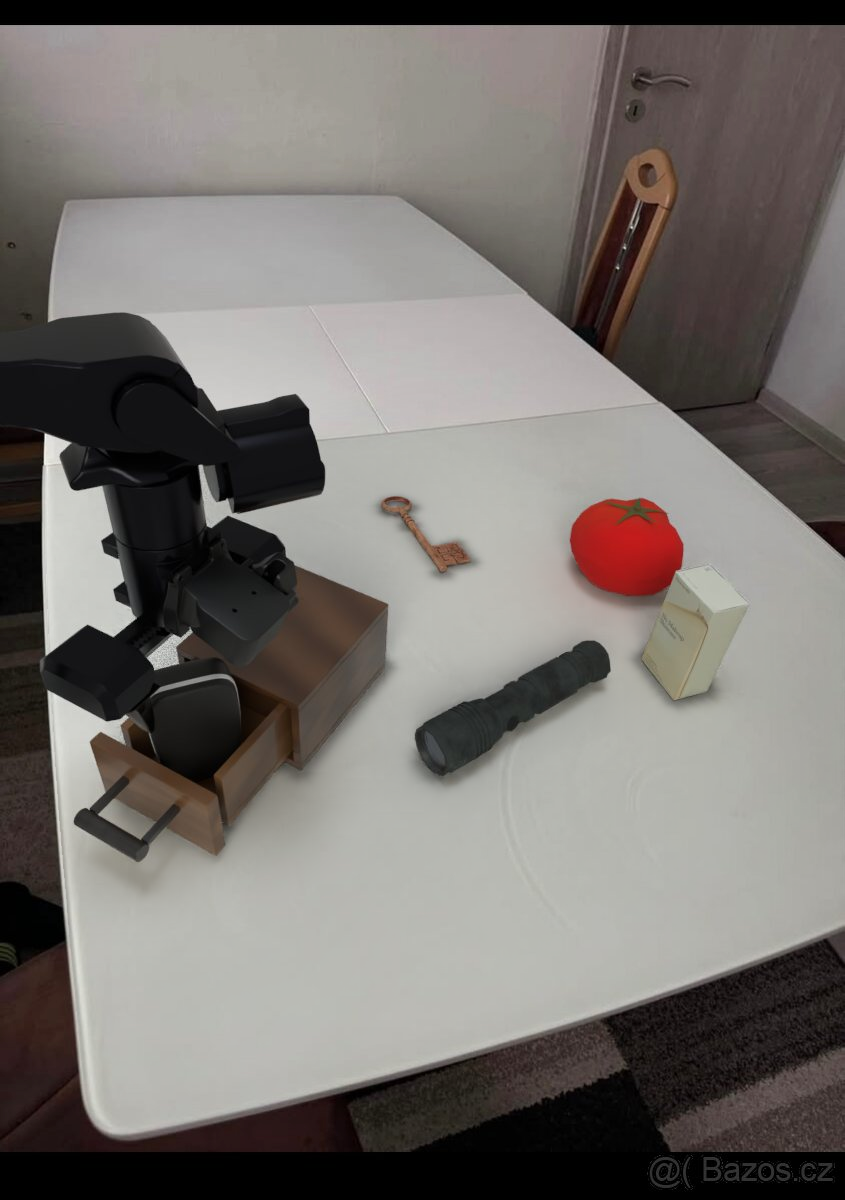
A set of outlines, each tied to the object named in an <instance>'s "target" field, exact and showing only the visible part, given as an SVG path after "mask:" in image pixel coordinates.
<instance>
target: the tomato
mask: <svg viewBox="0 0 845 1200" xmlns="http://www.w3.org/2000/svg"><path fill="white" fill-rule="evenodd" d="M668 514H669V512H667V511H665V510H664V509H663V508H661V507H660V506H659V505H657V504H656V503H655V502H653V500H652V501H651V500H649V499H647V498H644V497H639V498H634V499H633V498H632V499H628V500H625V499H624V500H623V499H619V498H607V499H604V500H602V501H599V502H596V503H594V504H591V505H590V506H589V507H587V508H586V509H584V510H583V511H582V512H581V513H580V514H579V515H578V517H577V518H576V519H575V521H574V522H573V524H572V526H571V530H570V536H569V544H570V550H571V553H572V554H571V555H572V556H573V558H574V560H575V562H576V565H577V567H578V568H579V570H580V571H581V572H582V573H583V575H584V576H585V578H586V579H587V580H588V581H589V582H590V583H591V584H593V585H594V586H595V587H597V588H599V589H601V590H604V591H605V592H609V593H614V594H619V595H623V596H629V597H630V596H631V597H634V596H635V597H646V596H647V597H648V596H654V595H656V594H659V593H660V592H662V591H664V590H666V589H667V588H669V587H670V585H671V582H672V580H673V577H674V575H675V572H676V571H677V570H682V568H683V561H684V550H685V547H684V542H683V540H682V539H681V537H680V535H679V532H678V531H677V528H676V527H674V525H672V523H671V522H670V519H669V516H668Z"/></svg>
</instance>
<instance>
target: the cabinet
mask: <svg viewBox="0 0 845 1200" xmlns="http://www.w3.org/2000/svg"><path fill="white" fill-rule="evenodd" d="M294 565H295V571H296V577H297V587H296V589H295V592H296V593H297V594H296V597H297V598H298V601H299V603H298V604H297V605H296V606H295V607H294V608H293V609H292V610H291V611H290V612H289V613H288V614H287V615H286V617H285V619H284V621H283V624H282V626H281V628H280V631H279V633H278V635H277V636H276V637H275V638H274V639H273V640H272V641H271V642H270V643H269V644H268V645H267V646H266V647H265V648H264V649H263V650H262V651H261V652H260V653H259V654H258V655H257V656H256V657H255V658H254V659H253V660H252V661H251V662H250V663H249V664H247V665H245V666H236V665H233V664H231V663H229V662H228V661H227V660H225V659H224V657H223V656H222V655H221V654H220V653H219V652H217V651H216V650H215V649H213V648H212V647H211V646H209V645H208V644H207V643H205V642H204V641H203V640H201V639H200V638H199V637H198V636H196V635H195V634H194V633H193V632H192V631H191V633H190V634H189V635H187V637H186V638H184V639H183V640H182V641H181V642H180V643H179V644H177V645H176V646H175V650H176V653H177V654H176V655H177V661H178V664H180V663H184V662H189V661H191V660H192V661H194V660H198V659H203V658H209V657H217V658H219V659H222V660H223V661H224V662H225V663H226V664H227V666H228V668H229V670H230V673H231V676H232V679H233V680H234V681H236V682H238V683H240V684H242V685H244V686H246V687H248V688H250V689H252V690H254V691H256V692H258V693H260V694H262V695H264V696H267V697H269V698H271V699H273V700H275V701H277V702H279V703H281V704H283V705H285V706H287V707H289V708H291V721H292V738H293V751H292V752H291V753H290V755H289V756H288V757H287V758H286V759H285V760H284V762H283V763H286V764H287V765H290V766H291V767H293V768H295V769H298V770H300V771H302V770H303V769H305V767H306V766H307V764H308V763H309V762H310V761H311V759H312V758H313V757H314V756H315V754H317V752H318V751H319V750H320V749H321V747H322V746H323V745H324V743H325V742H326V741H327V740H328V738H329V737H330V736H331V735H332V734H333V733H334V731H335V730H336V729H337V727H338V726H339V725H340V724H341V723H342V721H343V720H344V719H345V717H347V715H348V714H349V713H350V712H351V710H352V709H353V708H354V706H355V705H356V704H357V703H358V702H359V701H360V699H361V698H362V697H363V696H364V694H365V693H366V692H367V690H368V689H369V688H370V687H371V686H372V684H373V683H374V682H375V681H376V680H377V678H378V677H379V676H380V675H381V674H382V672H383V671H384V670H385V668H386V658H387V657H386V656H387V640H388V639H387V637H388V621H389V603H387V602H385V601H382V600H380V599H377V598H375V597H373V596H370V595H368V594H365V593H363V592H360V591H358V590H356V589H353V588H351V587H349V586H346V585H344V584H341V583H339V582H336V581H334V580H332V579H330V578H327V577H325V576H322V575H320V574H317V573H315V572H312V571H310V570H308V569H305V568H303V567H301V566H298V565H296V564H294Z"/></svg>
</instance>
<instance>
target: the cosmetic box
mask: <svg viewBox="0 0 845 1200" xmlns="http://www.w3.org/2000/svg"><path fill="white" fill-rule="evenodd" d="M750 604H751V603H750V601H749V600H748V599H747V598H746V597H745V596H744V595H743V594H742V593H741V592H740V591H739V590H738V589H737V588H736V587H735V586H734V585H733V583H731V582H730V580H729V579H727V578H726V577H725V576H724V575H723V573H721V572H720V571H719V570H718V569H717V568H716V567H715V566H714V565H713V564H712V563H711V562H709V563H705V564H700V565H695V566H690V567H686V568H681V570H677V571H676V572H675V575H674V577H673V580H672V582H671V585H670V586H669V587H668V590H667V592H666V595H665V598H664V600H663V602H662V605H661V608H660V611H659V612H658V615H657V618H656V621H655V623H654V626H653V628H652V631H651V632H650V636H649V638H648V641H647V643H646V645H645V648H644V651H643V654H642V655H641V660H642V662H643V664H645V666H646V667H647V669H648V670H649V671H650V672H651V674H652V675H653V676H654V677H655V678H656V680H657V681H658V683H659V684H660V685H661V686H662V688H663V689H664V690H665V692H666V693H667V694H668V695H669V696H670V698H671V699H672V700H673V701H677V700H680V699H684V698H688V697H691V696H692V697H693V696H695V695H699V694H702V693H706V692H708V690H709V689H710V686H711V684H712V682H713V680H714V678H715V676H716V674H717V672H718V670H719V668H720V666H721V664H722V662H723V660H724V657H725V655H726V654H727V651H728V649H729V648H730V645H731V643H732V641H733V640H734V638H735V635H736V633H737V631H738V629H739V627H740V625H741V623H742V621H743V618H744V617H745V615H746V613H747V611H748V609H749V607H750Z"/></svg>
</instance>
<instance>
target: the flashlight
mask: <svg viewBox="0 0 845 1200" xmlns="http://www.w3.org/2000/svg"><path fill="white" fill-rule="evenodd" d="M611 671H612V670H611V658H610V655H609V652H608V650H607V649H606V648H605V647H604V646H603V645H602V643H601V642H598V641H597V640H590V639H589V640H582V641H580V642H579V643H577V644H575V645H574V646H573V647H572V649H571V651H565V652H563V653H561V654H560V655H558V656H556V657H553V658H552V659H549V660H548V661H546V662H544V663H542V664H540V665H539V666H537V667H535V668H532V669H531V670H529V671H527V672H525V673H523V674H522V675H520V676H519V677H518V678H517V680H512V681H509V682H508V683H506V684H504V685H503V687H502V688H501V689H499V690H498V691H495V692H494V693H492V694H490V695H488V696H486V697H485V698H476V699H471V700H469V701H468V700H465V701H462V702H460V703H458V704H456V705H454V706H452V707H450V708H448V709H446V710H444V711H442V712H441V713H439V714H437V715H435V716H433V717H432V718H430V719H428V720H426V721H425V722H423V723H422V725H420V726H418V727H417V728H416V730H415V732H414V741H415V745H416V749H417V751H418V754H419V756H420V758H421V759H422V760H423V762H424V764H425V766H427V768H428V769H429V770H430V771H431V772H432V773H434V774H438V776H440V777H444V776H446V775H447V774H452V773H454V772H455V771H457V770H459V769H460V768H462V767H464V766H466V765H467V764H469V763H470V762H472V761H475V760H476V759H477V758H479V757H481V756H483V755H484V754H486V753H487V752H489V751H490V750H492V748H493V746H494V745H495V744H496V743H497V742H498V741H499V740H501V738H503V736H504V733H506V732H513V731H515V730H516V729H517V728H518V726H519V725H520V724H521V723H527V722H529V721H531V720H532V719H534V718H535V716H536V715H541V714H543V713H545V712H547V711H548V710H549V709H552V708H553V707H555V706H556V705H559V704H560V703H562V702H563V701H565V700H567V699H568V698H570V697H571V696H573V695H575V694H576V693H577V692H578V690H579V689H582V688H583V687H585V686H588V685H589V683H597V682H599V681H602V680H604V679H607V678H608V676H609V674H610V673H611Z"/></svg>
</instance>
